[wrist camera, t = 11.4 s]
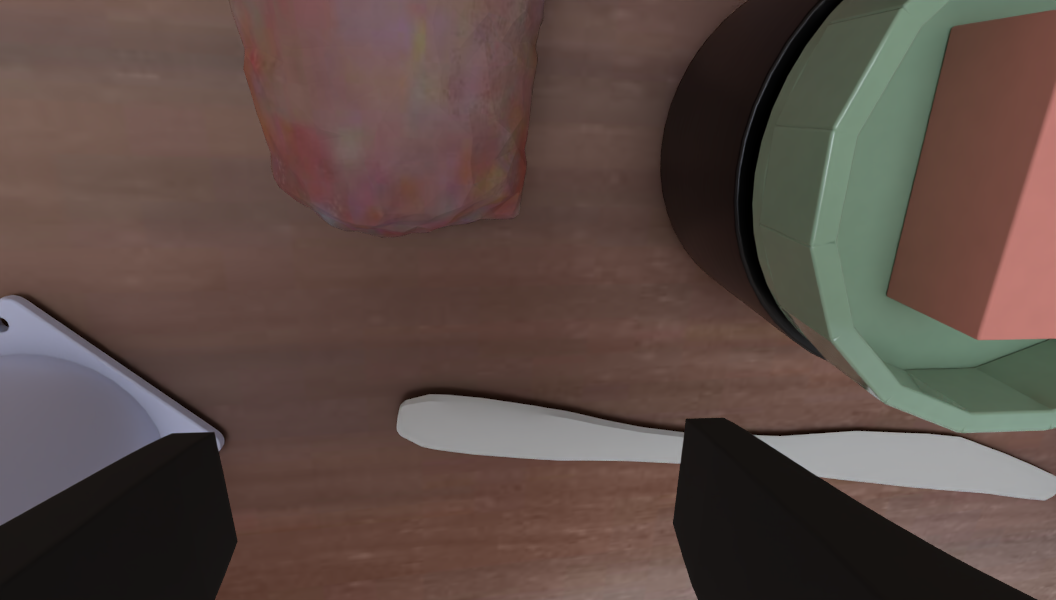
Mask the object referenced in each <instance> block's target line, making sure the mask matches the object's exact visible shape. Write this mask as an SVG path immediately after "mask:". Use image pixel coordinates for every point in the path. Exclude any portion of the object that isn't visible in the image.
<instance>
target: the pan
mask: <svg viewBox="0 0 1056 600" xmlns="http://www.w3.org/2000/svg"><path fill="white" fill-rule="evenodd" d="M1050 10H1056V0H843V1H842V2H841V3H840V4H839V5H838V6H837V7H836V8H835V9H834V10H833V11H832V12H831V14H830V15H829V16H828V17H827V18H826V20H825V21H824V22H823V24H822V25H821V26H820V28H819V29H818V30H817V32H816V33H815V34H814V36H813V37H812V38H811V40H810V41H809V42H808V44H807V45H806V46H805V48H804V50H803V51H802V53H801V55H800V56H799V58H798V60H797V61H796V63H795V65H794V66H793V68H792V70H791V71H790V73H789V75H788V76H787V78H786V80H785V83H784V85H783V87H782V89H781V91H780V93H779V96H778V98H777V100H776V102H775V104H774V106H773V109H772V111H771V114H770V117H769V120H768V123H767V126H766V129H765V132H764V135H763V138H762V141H761V146H760V151H759V156H758V161H757V165H756V170H755V178H754V190H753V202H752V207H753V229H754V237H755V243H756V248H757V254H758V259H759V262H760V265H761V268H762V271H763V274H764V277H765V280H766V283H767V286H768V288H769V289H770V291H771V293H772V295H773V297H774V299H775V301H776V303H777V305H778V307H779V308H780V310H781V311H782V312H783V314H784V315H785V316H786V318H787V319H788V320H789V322H790V323H791V324H792V326H793V327H794V328H795V329H796V330H797V331H798V332H799V333H800V334H801V335H802V336H803V337H804V338H805V339H806V340H807V341H808V342H810V343H811V344H812V345H814V346H815V347H816V348H817V350H818V351H819V352H820V353H821V354H822V355H823V357H824V358H825V359H826V360H827V361H828V362H830V363H831V364H832V365H834V366H835V367H836V368H838V369H839V370H840V371H842V372H843V373H844V374H846V375H847V376H848V377H850V378H851V379H852V380H854V381H855V382H856V383H857V384H859V385H860V386H861V387H863V388H864V389H865V390H867V391H868V392H869V393H871V394H872V395H873V396H875V397H876V398H877V399H879V400H880V401H881V402H883V403H884V404H886V405H889V406H891V407H894V408H896V409H899V410H901V411H904V412H906V413H909V414H912V415H914V416H917V417H919V418H922V419H924V420H927V421H929V422H932V423H935V424H937V425H940V426H942V427H945V428H947V429H950V430H952V431H955V432H958V433H981V432H1010V431H1039V430H1048V429H1054V428H1056V339H1016V340H976V339H974V338H972V337H970V336H968V335H966V334H964V333H962V332H960V331H958V330H956V329H954V328H951V327H949V326H947V325H945V324H943V323H941V322H939V321H937V320H935V319H933V318H931V317H929V316H927V315H925V314H922V313H920V312H918V311H916V310H914V309H912V308H910V307H908V306H906V305H904V304H902V303H900V302H898V301H896V300H893V299H891V298H889V297H887V291H888V287H889V283H890V278H891V274H892V270H893V266H894V262H895V258H896V254H897V250H898V246H899V241H900V237H901V233H902V229H903V225H904V221H905V217H906V213H907V208H908V204H909V200H910V196H911V192H912V188H913V184H914V180H915V176H916V171H917V167H918V163H919V159H920V155H921V151H922V147H923V143H924V138H925V134H926V130H927V126H928V122H929V118H930V114H931V110H932V106H933V101H934V97H935V93H936V89H937V85H938V81H939V77H940V73H941V68H942V64H943V60H944V56H945V52H946V48H947V44H948V40H949V36H950V31H951V29H952V27H954V26H958V25H964V24H970V23H976V22H983V21H989V20H995V19H1001V18H1007V17H1013V16H1020V15H1026V14H1032V13H1038V12H1044V11H1050Z"/></svg>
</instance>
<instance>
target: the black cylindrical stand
mask: <svg viewBox="0 0 1056 600" xmlns="http://www.w3.org/2000/svg"><path fill="white" fill-rule="evenodd" d="M842 1H843V0H749V1H747V2H746V3H744V4H743V5H742V6H740V7H739V8H738V9H737V10H736V11H735V12H734V13H732V14H731V15H730V16H729V17H728V18H727V19H726V20H724V21H723V23H722V24H721V25H720V26H719V27H718V28H717V29H716V30H715V31H714V33H713V34H712V35H711V36H710V37H709V38H708V39H707V40H706V42H705V43H704V45H703V46H702V48H701V49H700V50H699V52H698V53H697V55H696V56H695V57H694V59H693V60H692V62H691V64H690V66H689V67H688V69H687V71H686V73H685V75H684V77H683V78H682V80H681V82H680V84H679V87H678V89H677V92H676V94H675V97H674V99H673V102H672V104H671V107H670V111H669V114H668V118H667V122H666V125H665V130H664V137H663V143H662V150H661V179H662V189H663V196H664V200H665V204H666V208H667V212H668V215H669V218H670V220H671V223H672V226H673V228H674V231H675V233H676V235H677V236H678V238H679V240H680V242H681V243H682V245H683V247H684V249H685V250H686V251H687V252H688V254H689V255H690V256H691V258H692V259H693V260H694V261H695V263H696V264H697V265H698V266H699V267H700V268H702V269H703V270H704V271H705V272H706V273H707V274H708V275H709V276H710V277H711V278H713V279H714V280H715V281H717V282H718V283H719V284H721V285H722V286H723V287H724V288H726V289H727V290H728V291H730V292H731V293H732V294H733V295H735V296H736V297H737V298H739V299H740V300H741V301H743V302H744V303H745V304H746V305H748V306H749V307H750V308H752V309H753V310H754V311H755V312H757V313H758V314H759V315H761V316H762V317H763V318H764V319H766V320H767V321H768V322H770V323H771V324H772V325H774V326H775V327H776V328H777V329H779V330H780V331H781V332H783V333H784V334H785V335H786V336H788V337H789V338H790V339H792V340H793V341H795V342H796V343H797V344H799V345H800V346H802V347H803V348H805V349H806V350H807V351H809V352H810V353H812V354H814V355H816V356H818V357H820V358H822V359H824V360H826V359H825V358H824V357H823V355H822V354H821V353H820V352H819V351H818V350H817V348H816V347H815V346H814V345H812V344H811V343H810V342H808V341H807V340H806V339H805V338H804V337H803V336H802V335H801V334H800V333H799V332H798V331H797V330H796V329H795V328H794V327H793V326H792V324H791V323H790V322H789V320H788V319H787V318H786V316H785V315H784V314H783V312H782V311H781V310H780V308H779V307H778V305H777V303H776V301H775V299H774V297H773V295H772V293H771V291H770V289H769V288H768V286H767V283H766V280H765V277H764V274H763V271H762V268H761V265H760V262H759V259H758V254H757V248H756V243H755V237H754V229H753V207H752V202H753V190H754V178H755V170H756V165H757V161H758V156H759V151H760V146H761V141H762V138H763V135H764V132H765V129H766V126H767V123H768V120H769V117H770V114H771V111H772V109H773V106H774V104H775V102H776V100H777V98H778V96H779V93H780V91H781V89H782V87H783V85H784V83H785V80H786V78H787V76H788V75H789V73H790V71H791V70H792V68H793V66H794V65H795V63H796V61H797V60H798V58H799V56H800V55H801V53H802V51H803V50H804V48H805V46H806V45H807V44H808V42H809V41H810V40H811V38H812V37H813V36H814V34H815V33H816V32H817V30H818V29H819V28H820V26H821V25H822V24H823V22H824V21H825V20H826V18H827V17H828V16H829V15H830V14H831V12H832V11H833V10H834V9H835V8H836V7H837V6H838V5H839V4H840V3H841V2H842ZM826 361H827V360H826Z"/></svg>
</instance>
